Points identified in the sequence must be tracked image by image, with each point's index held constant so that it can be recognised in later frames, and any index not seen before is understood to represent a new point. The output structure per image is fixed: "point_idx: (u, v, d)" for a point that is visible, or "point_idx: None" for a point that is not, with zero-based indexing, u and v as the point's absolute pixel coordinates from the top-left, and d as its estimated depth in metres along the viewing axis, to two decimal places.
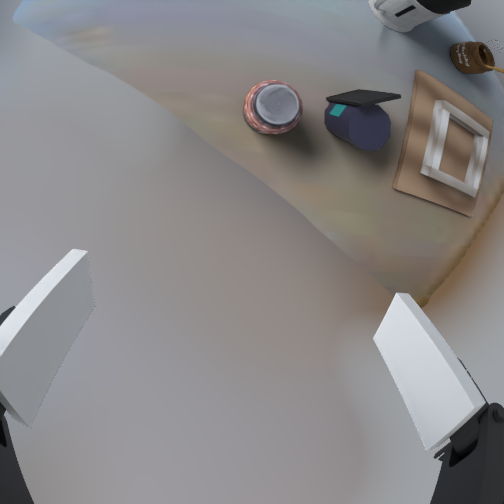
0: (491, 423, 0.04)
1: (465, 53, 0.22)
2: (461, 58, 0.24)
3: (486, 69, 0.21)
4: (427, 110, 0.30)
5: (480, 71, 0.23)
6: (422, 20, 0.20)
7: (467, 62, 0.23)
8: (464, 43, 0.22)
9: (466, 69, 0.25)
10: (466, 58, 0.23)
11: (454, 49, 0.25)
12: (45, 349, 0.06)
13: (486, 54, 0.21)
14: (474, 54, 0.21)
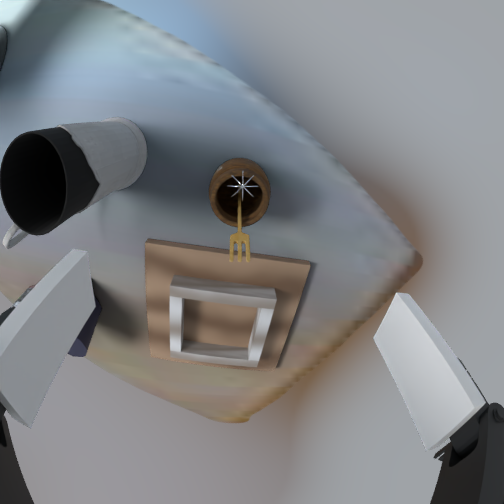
0: (491, 423, 0.04)
1: None
2: None
3: None
4: (164, 288, 0.33)
5: None
6: None
7: None
8: (215, 173, 0.25)
9: None
10: None
11: None
12: (45, 348, 0.06)
13: None
14: None
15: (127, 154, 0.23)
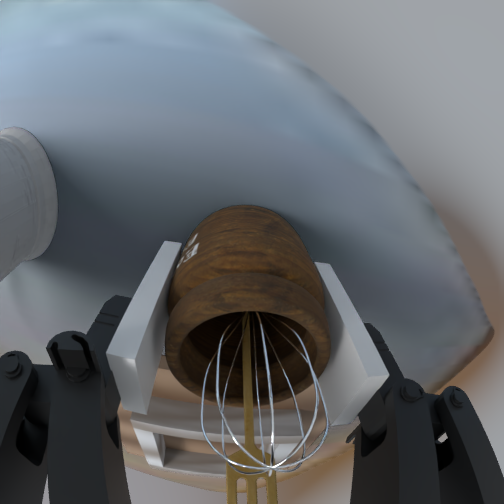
0: (400, 407, 0.05)
1: None
2: None
3: None
4: None
5: None
6: None
7: None
8: (180, 263, 0.10)
9: (224, 331, 0.13)
10: None
11: None
12: (159, 333, 0.08)
13: None
14: None
15: None
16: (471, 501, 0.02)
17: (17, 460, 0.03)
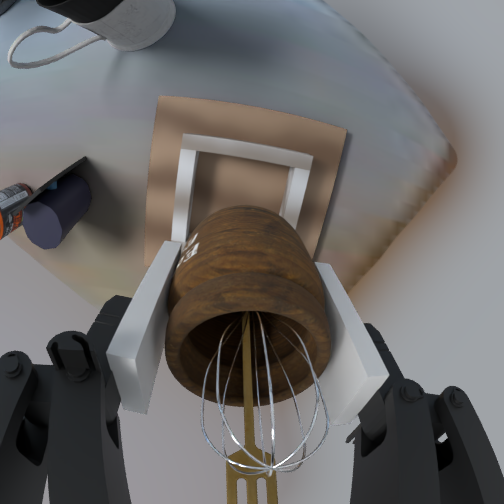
0: (400, 407, 0.05)
1: None
2: None
3: None
4: (173, 153, 0.26)
5: None
6: (123, 28, 0.16)
7: None
8: (180, 262, 0.10)
9: (224, 331, 0.13)
10: None
11: None
12: (159, 333, 0.08)
13: None
14: None
15: None
16: (471, 502, 0.02)
17: (17, 460, 0.03)
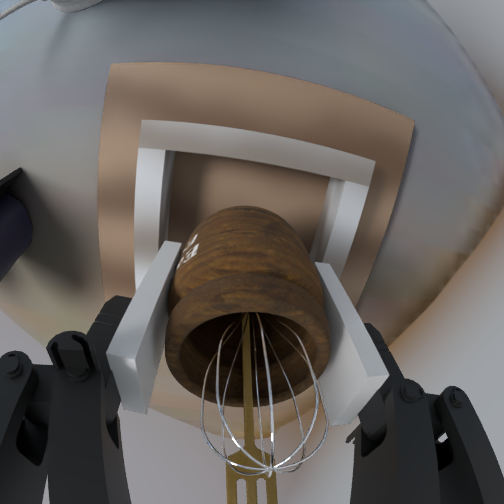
0: (400, 407, 0.05)
1: None
2: None
3: None
4: (133, 156, 0.15)
5: None
6: None
7: None
8: (180, 263, 0.10)
9: (223, 331, 0.13)
10: None
11: None
12: (159, 333, 0.08)
13: None
14: None
15: None
16: (471, 502, 0.02)
17: (17, 460, 0.03)
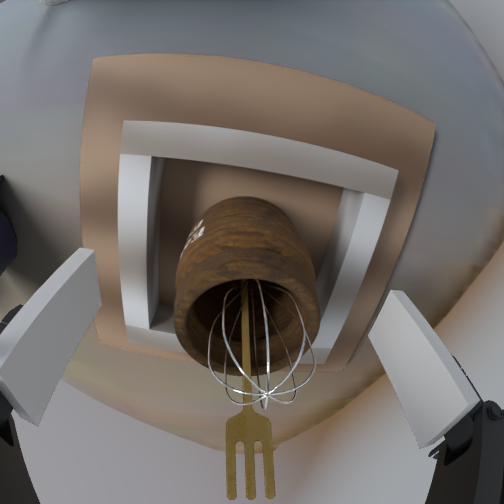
0: (486, 422, 0.04)
1: None
2: None
3: None
4: (118, 163, 0.13)
5: None
6: None
7: None
8: (188, 244, 0.11)
9: (224, 312, 0.14)
10: None
11: None
12: (53, 347, 0.06)
13: None
14: None
15: None
16: None
17: None
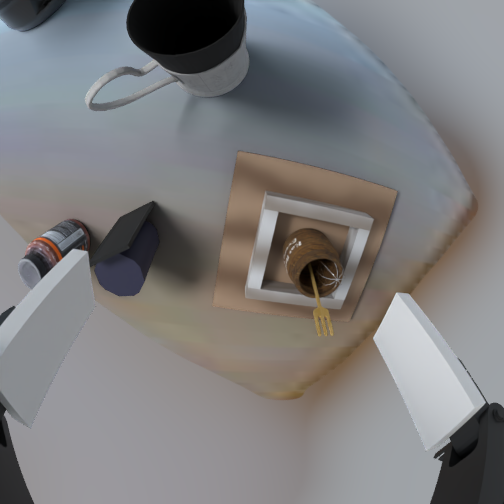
0: (491, 423, 0.04)
1: (287, 269, 0.29)
2: None
3: None
4: (250, 208, 0.31)
5: None
6: (211, 81, 0.20)
7: None
8: (293, 247, 0.28)
9: None
10: None
11: (286, 246, 0.31)
12: (45, 348, 0.06)
13: None
14: (292, 279, 0.27)
15: None
16: None
17: None
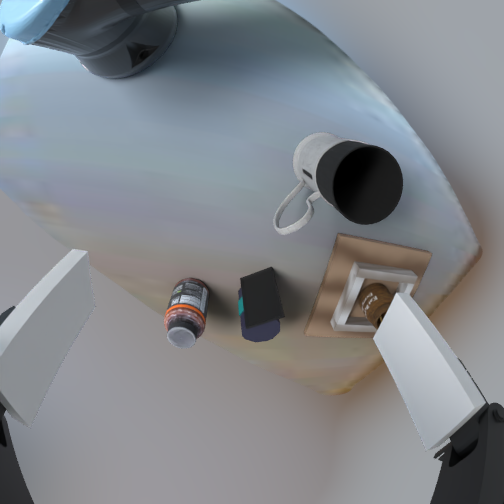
0: (491, 423, 0.04)
1: (366, 313, 0.41)
2: (363, 312, 0.43)
3: None
4: (343, 273, 0.43)
5: None
6: None
7: (367, 318, 0.42)
8: (371, 300, 0.41)
9: None
10: (366, 316, 0.42)
11: (363, 296, 0.43)
12: (45, 348, 0.06)
13: None
14: (371, 320, 0.40)
15: None
16: None
17: None
